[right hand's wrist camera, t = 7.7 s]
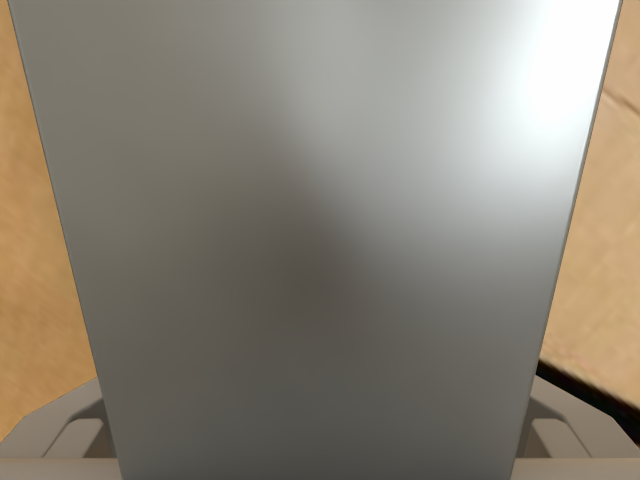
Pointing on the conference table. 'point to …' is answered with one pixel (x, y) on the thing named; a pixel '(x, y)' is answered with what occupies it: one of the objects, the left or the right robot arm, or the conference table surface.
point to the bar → (315, 221)
